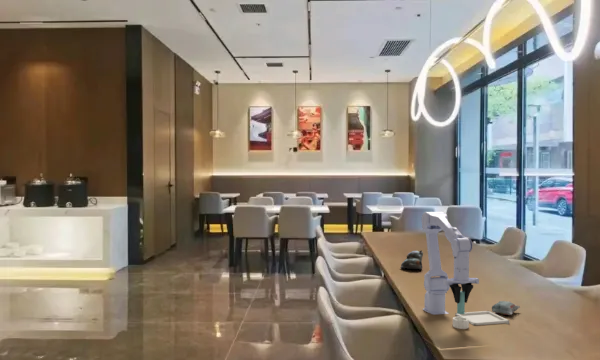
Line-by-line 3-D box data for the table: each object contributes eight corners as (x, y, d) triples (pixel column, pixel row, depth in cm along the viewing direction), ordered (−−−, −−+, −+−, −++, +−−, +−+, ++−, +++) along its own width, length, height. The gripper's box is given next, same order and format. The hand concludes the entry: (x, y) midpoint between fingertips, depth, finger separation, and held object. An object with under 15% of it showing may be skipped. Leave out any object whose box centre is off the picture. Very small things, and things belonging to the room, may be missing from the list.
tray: (455, 316, 211) (455, 313, 211) (488, 314, 215) (488, 310, 215) (474, 326, 198) (474, 323, 197) (509, 324, 201) (509, 320, 201)
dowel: (455, 312, 197) (456, 291, 197) (462, 311, 198) (462, 290, 197) (459, 314, 194) (459, 292, 194) (465, 313, 195) (466, 292, 195)
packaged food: (519, 312, 218) (519, 301, 218) (511, 318, 209) (511, 307, 209) (499, 309, 224) (499, 298, 224) (490, 315, 215) (490, 303, 215)
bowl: (449, 326, 198) (449, 317, 198) (463, 325, 200) (463, 316, 200) (457, 330, 193) (458, 321, 192) (471, 329, 194) (471, 320, 194)
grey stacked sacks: (396, 268, 313) (399, 247, 319) (411, 274, 317) (414, 254, 323) (411, 265, 300) (414, 244, 306) (426, 272, 304) (429, 250, 310)
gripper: (450, 270, 190) (449, 306, 190) (483, 269, 193) (483, 303, 194) (440, 267, 197) (440, 301, 197) (473, 265, 200) (472, 299, 201)
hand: (460, 302), depth 196 cm, fingers closed on dowel, 3 cm apart
